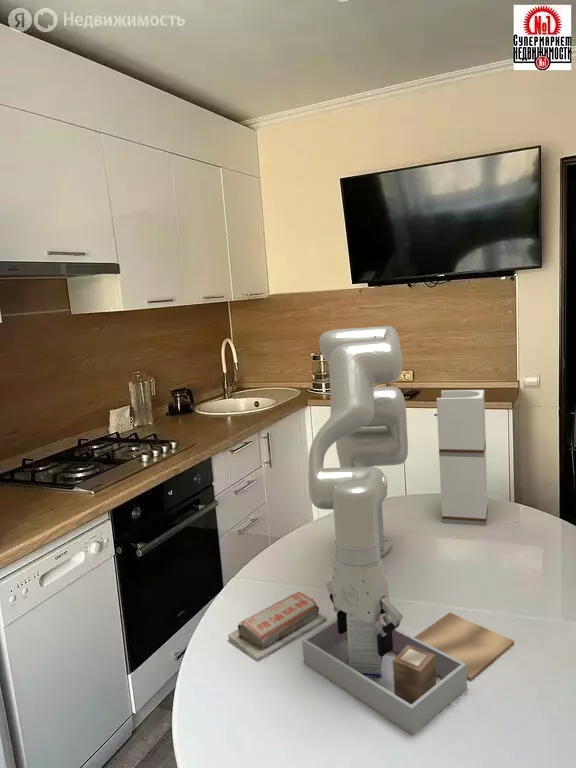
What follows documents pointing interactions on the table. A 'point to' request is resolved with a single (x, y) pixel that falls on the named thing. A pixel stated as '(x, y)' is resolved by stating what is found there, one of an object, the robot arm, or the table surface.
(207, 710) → the table surface
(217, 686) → the table surface
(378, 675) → the supplement box
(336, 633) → the grey bin
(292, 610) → the packaged product
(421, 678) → the walnut block
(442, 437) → the tall striped box
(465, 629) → the cork mat
